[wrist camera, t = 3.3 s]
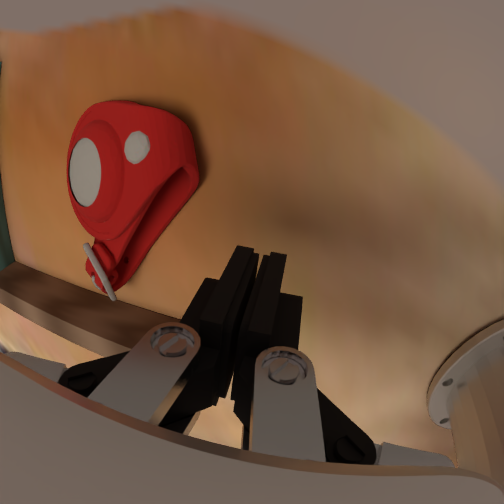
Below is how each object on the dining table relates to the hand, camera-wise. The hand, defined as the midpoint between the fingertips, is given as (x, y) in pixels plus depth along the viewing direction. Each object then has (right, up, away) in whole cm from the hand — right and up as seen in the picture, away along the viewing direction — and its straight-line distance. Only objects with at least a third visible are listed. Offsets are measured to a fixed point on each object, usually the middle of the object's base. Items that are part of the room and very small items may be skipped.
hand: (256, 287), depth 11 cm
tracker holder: (-8, +5, +8) cm, 12 cm away
